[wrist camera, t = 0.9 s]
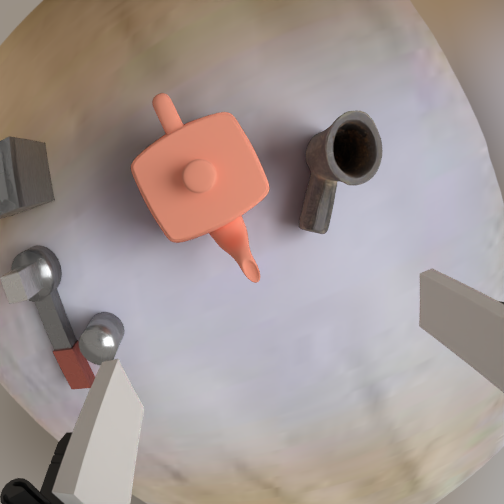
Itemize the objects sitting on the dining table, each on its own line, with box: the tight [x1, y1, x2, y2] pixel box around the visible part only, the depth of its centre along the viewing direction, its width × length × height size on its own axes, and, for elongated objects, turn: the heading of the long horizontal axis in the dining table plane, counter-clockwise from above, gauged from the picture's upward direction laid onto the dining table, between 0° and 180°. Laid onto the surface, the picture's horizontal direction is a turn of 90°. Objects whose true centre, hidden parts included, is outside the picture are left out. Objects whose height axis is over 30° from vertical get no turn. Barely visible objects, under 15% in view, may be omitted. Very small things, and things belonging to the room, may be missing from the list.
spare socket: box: [79, 312, 124, 365], centre depth 32 cm, size 4×4×5 cm
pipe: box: [299, 111, 382, 234], centre depth 30 cm, size 6×13×8 cm, turn 167°
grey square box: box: [0, 137, 55, 219], centre depth 25 cm, size 7×7×8 cm
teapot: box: [131, 93, 270, 283], centre depth 28 cm, size 12×18×10 cm, turn 27°
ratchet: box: [0, 246, 95, 389], centre depth 30 cm, size 19×6×7 cm, turn 10°
